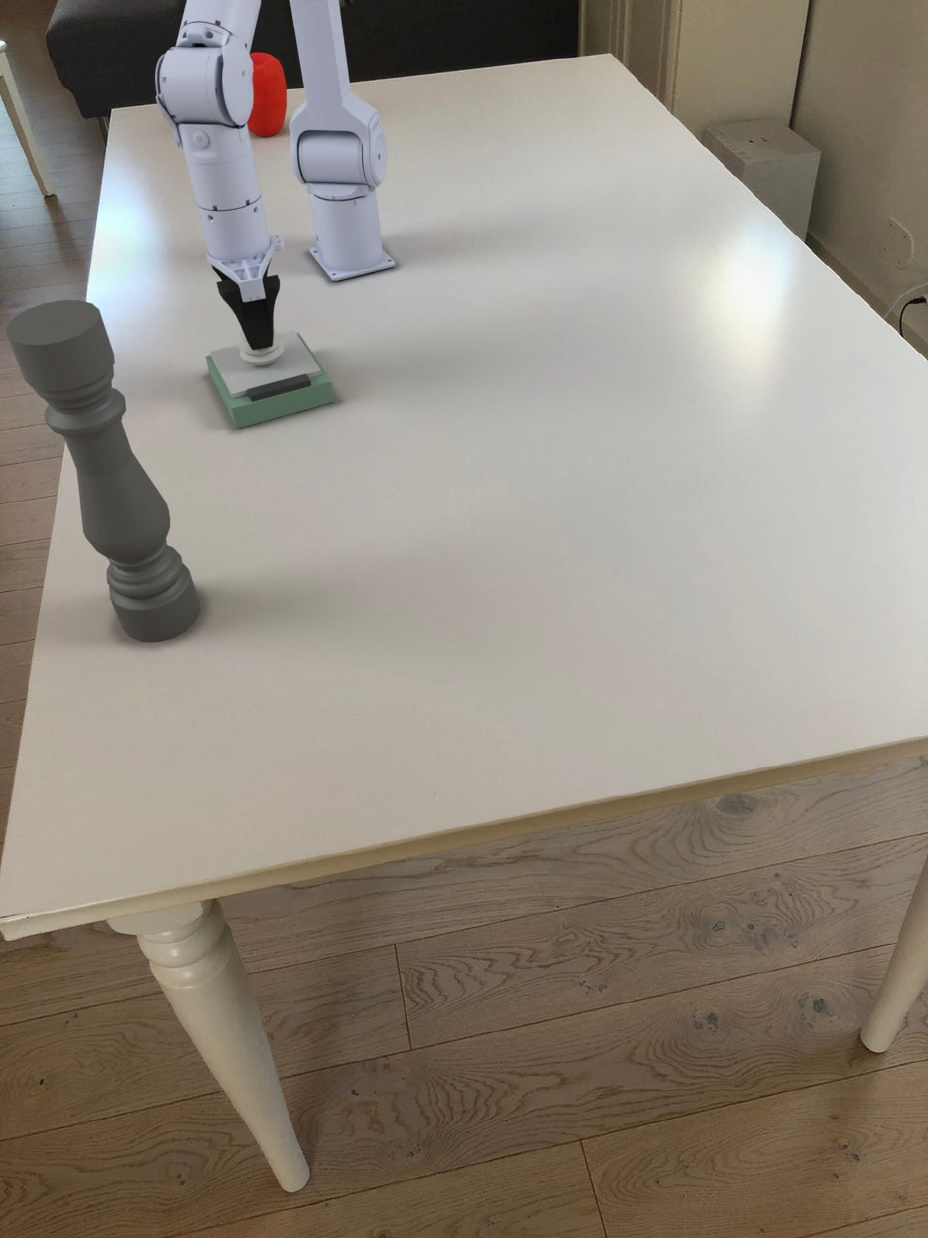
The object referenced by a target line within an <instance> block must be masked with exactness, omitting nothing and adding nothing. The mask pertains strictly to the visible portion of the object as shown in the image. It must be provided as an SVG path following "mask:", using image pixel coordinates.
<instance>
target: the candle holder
mask: <svg viewBox="0 0 928 1238" xmlns="http://www.w3.org/2000/svg"><path fill="white" fill-rule="evenodd" d="M5 336H6V338H7V340H8V343H9V345H10V348H11V350H12V353H13V355H14V357H15V361H16V362H17V365H18V367H19V370H20V372H21V375H22V377H23V380H24V381H25V382H26V383H27V384H28V385H29V387H31V388H32V390H33V391H34V392H35V393H36V394H37V395H38V396H39V397H40V398H42V399H44V401H45V402H46V403H47V404H48V405H47V407H46V408H45V409H44V422H45V423H46V425H47V426H48V427H49V428H50V429H51V430H52V432H53V433H56V434H59V435H60V436H62V437H63V439H64V442H65V445H66V447H67V449H68V452H69V454H70V457H71V459H72V462H73V465H74V467H75V470H76V479H77V487H78V488H77V489H78V495H79V504H80V517H81V526H82V533H83V536H84V538H85V539H86V540H87V541H88V543H89V544H90V545H91V546H92V547H93V549H94V550H95V551H96V552H97V553H99V554H100V555H101V556H103V557H105V558H106V560H107V561H109V564H108V567H107V568H106V583H107V586H109V587H108V590H109V592H108V593H109V600H110V602H111V604H112V607H113V610H114V611H115V614H116V616H117V619H118V621H119V624H120V626H121V628H122V630H123V631H124V632H125V634H126V635H127V636H128V637H129V638H132V639H134V640H136V641H138V642H146V643H147V642H149V643H157V642H161V641H166V640H169V639H173V638H174V637H177V636H179V635H181V634H182V633H184V632H186V631H187V630H188V629H190V627H191V626H192V625H193V624H195V623H196V622H197V620H198V617H199V614H200V612H201V604H200V598H199V596H198V592H197V590H196V586H195V583H194V580H193V578H192V577H193V576H192V575H191V571H190V568H188V566H186V565H185V564H184V563H183V558H182V557H183V556H182V555H181V554H180V553H179V552H178V550H176V549H175V547H173V546H171V545H168V541H167V537H168V535H169V532H170V529H171V514H170V509H169V505H168V503H167V501H166V500H165V498H164V497H163V496H162V494H161V492H160V491H159V489H157V487H156V485H155V484H154V482H153V481H152V479H151V478H150V476H149V475H148V472H146V470H145V469H144V467H143V466H142V464H141V463H140V461H139V460H138V458H137V457H136V455H135V454H134V453H133V450H132V447H131V444H130V442H129V439H128V436H127V433H126V430H125V427H124V424H123V421H122V420H123V417H124V415H125V413H126V412H127V404H126V397H125V395H124V394H123V393H122V392H121V391H120V390H119V389H117V388H114V387H113V385H112V384H113V383H112V381H113V379H114V377H115V366H114V365H115V363H116V361H115V353H114V350H113V347H112V344H111V340H110V338H109V335H108V332H107V329H106V326H105V323H104V320H103V317H102V314H101V310H100V308H98V307H97V306H96V305H95V304H94V303H92V302H88V301H85V300H80V299H60V300H56V301H50V302H44V303H41V304H39V305H35V306H33V307H29V308H27V309H26V310H24V311H22V312H21V313H19V314H17V315H16V316H13V318H12V319H11V320H10V321H9V322H8V324H7V325H6V330H5Z"/></svg>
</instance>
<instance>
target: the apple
mask: <svg viewBox="0 0 928 1238" xmlns="http://www.w3.org/2000/svg"><path fill="white" fill-rule="evenodd" d="M249 55H250V57H251V59H252V61H253V75H252V81H253V108H252V111H251V114H250V117H249V119H248V121H247V126H248V131H249V133H252V134H253V135H257V136H260V137H263V138H267V137H272V136H275V135H277V134H278V133H279V132H281V130H282V129H283V127H284V124H285V121H286V115H287V111H288V110H287V108H288V88H287V81H286V77H285V72H284V68H283V66H282V64H281V62H280V60H279V59H278V58H276V57H274V55H271V54H270V53H269V54H268V53H266V52H252V53H250V54H249Z"/></svg>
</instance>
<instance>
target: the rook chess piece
mask: <svg viewBox="0 0 928 1238" xmlns="http://www.w3.org/2000/svg"><path fill="white" fill-rule="evenodd" d="M280 334H281V333H280V332H278V331H277V330H276V327H274V340H273V346H272V347H268V348H263V349H258V350H252V349H251V347H250V346H249V344H248V342H247V340H246V337H245V335H244V333H243V330H242V329H241V332H240V337H239V339H238V344H237V345H239V349H240V350H241V351H240V357H241V358H242V359H244V360H245V361H246V362H247V363H249V364H253V365H265V364H269V363H272V362H274V361H276V360H278V359H279V358H280V357H281V355H282V353H283V351H284V345H283V344H282V343H281V342H282V338H281V336H280Z"/></svg>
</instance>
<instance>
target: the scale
mask: <svg viewBox="0 0 928 1238" xmlns="http://www.w3.org/2000/svg"><path fill="white" fill-rule="evenodd" d="M279 334H280V336H281V338H282V342H281V343H282V344H283V345H284V351H283V353H282V355H281V357H280V358H279V359H278V360H276V361H274V362H272V363H269V364H265V365H253V364H249V363H247V362H246V361H245V360H244V359H242V358H241V357H240V351H241V350H240V349H239V345H238V344H236V345H232V346H231V345H230V346H227V347H224V348H220V349H215V350H212V351H209V355H206V356H205V357H204V358H205V361H206V365H207V369H208V372H209V377H210V379H211V381H212V382H213V385H214V386H215V388H216V391H217V392H218V394H219V397H220V398H221V400H222V403H223V404H224V406H225V408H226V410H227V413H228V415H229V416H230V418H231V421H232V422H233V424H234V426H235V428H236V429H237V430H240V429H242V428H246V427H249V426H254V425H257V424H261V423H265V422H269V421H272V420H275V419H278V418H282V417H286V416H289V415H293V414H297V413H300V412H304V411H307V410H311V409H314V408H319V407H322V406H325V405H329V404H332V403H335V395H334V389H333V383H332V380H331V378H330V376H328V374H327V373H326V371H325V370H324V368H323V367H322V366H321V364H320V362H319V360H318V359H317V358H316V356H315V355H314V354H313V352H312V351H311V349H310V348H309V346H308V345H307V343H306V341H305V339H304V338H303V337H302V335H301V334H300V332H296V331H295V330H293V329H292V330H289V331H285V332H281V333H279Z"/></svg>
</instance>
